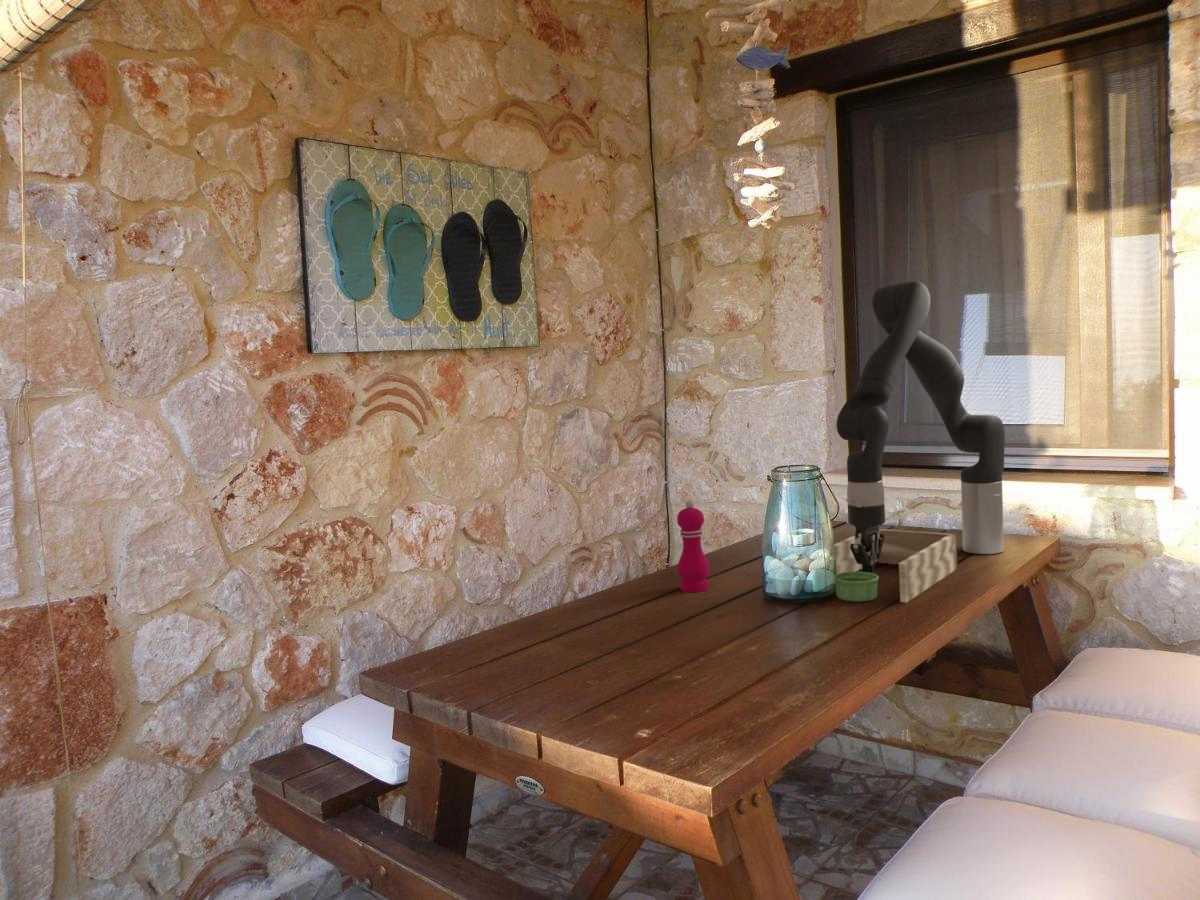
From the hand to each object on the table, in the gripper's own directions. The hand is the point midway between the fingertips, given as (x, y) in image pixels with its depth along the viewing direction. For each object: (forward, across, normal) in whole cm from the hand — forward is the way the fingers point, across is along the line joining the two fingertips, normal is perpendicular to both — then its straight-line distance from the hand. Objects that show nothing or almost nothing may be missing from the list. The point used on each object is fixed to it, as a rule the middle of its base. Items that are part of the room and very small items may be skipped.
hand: (869, 581), depth 194 cm
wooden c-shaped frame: (+2, -9, 0) cm, 9 cm away
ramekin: (+2, +7, 0) cm, 7 cm away
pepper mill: (+2, +15, -35) cm, 38 cm away
